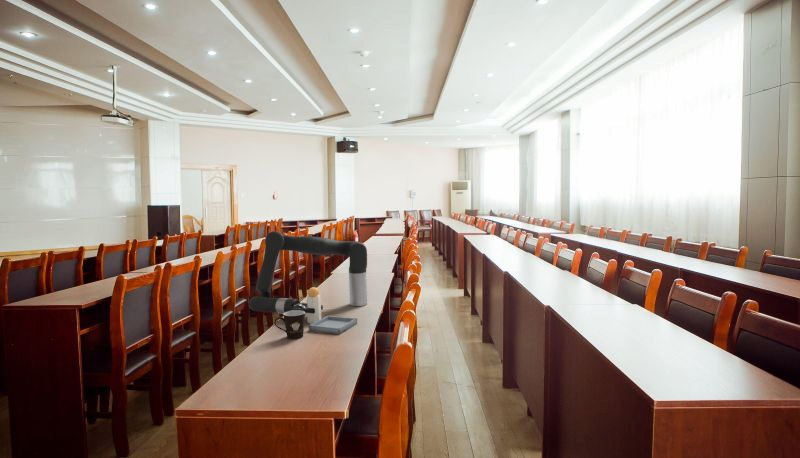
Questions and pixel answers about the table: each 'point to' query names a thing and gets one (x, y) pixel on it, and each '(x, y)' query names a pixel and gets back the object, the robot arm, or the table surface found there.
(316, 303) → the white hexagonal prism
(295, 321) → the coffee mug
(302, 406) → the table surface
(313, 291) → the ball
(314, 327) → the tray
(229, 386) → the table surface
